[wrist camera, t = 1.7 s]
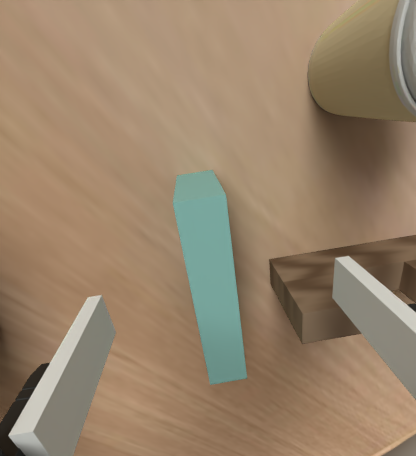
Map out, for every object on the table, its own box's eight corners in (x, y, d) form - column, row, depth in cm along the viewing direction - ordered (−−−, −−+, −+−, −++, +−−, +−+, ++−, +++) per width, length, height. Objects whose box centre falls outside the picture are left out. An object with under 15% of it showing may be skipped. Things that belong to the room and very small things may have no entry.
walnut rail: (270, 283, 31) (302, 343, 22) (269, 259, 29) (302, 313, 21) (429, 257, 31) (517, 306, 23) (435, 231, 30) (531, 274, 21)
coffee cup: (414, 81, 23) (625, 44, 12) (324, 145, 25) (438, 164, 14) (380, -30, 20) (629, -223, 9) (278, 52, 21) (379, -23, 10)
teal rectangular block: (203, 316, 32) (210, 384, 23) (177, 175, 25) (172, 202, 16) (231, 311, 32) (247, 378, 24) (212, 170, 25) (225, 194, 16)
